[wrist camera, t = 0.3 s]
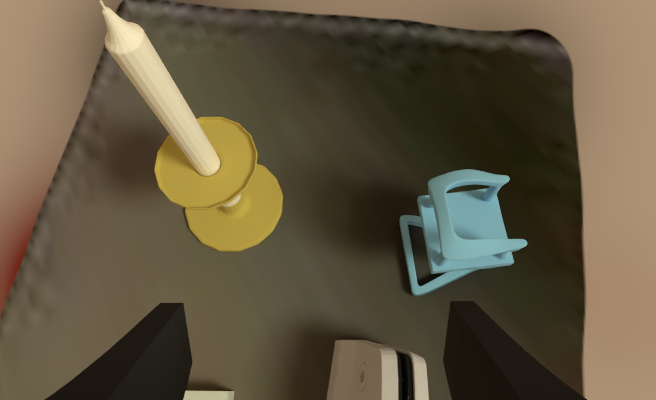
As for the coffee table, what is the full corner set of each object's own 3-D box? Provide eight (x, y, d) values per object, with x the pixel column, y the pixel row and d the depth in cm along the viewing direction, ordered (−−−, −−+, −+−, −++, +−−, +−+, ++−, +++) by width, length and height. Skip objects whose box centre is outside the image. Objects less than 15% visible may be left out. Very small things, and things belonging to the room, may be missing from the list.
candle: (169, 191, 48) (-30, -18, 23) (253, 143, 50) (152, -101, 25) (212, 271, 45) (34, 127, 20) (301, 217, 46) (240, 21, 21)
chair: (501, 287, 43) (554, 252, 32) (411, 297, 43) (433, 266, 32) (482, 209, 46) (525, 152, 35) (398, 218, 46) (413, 164, 35)
